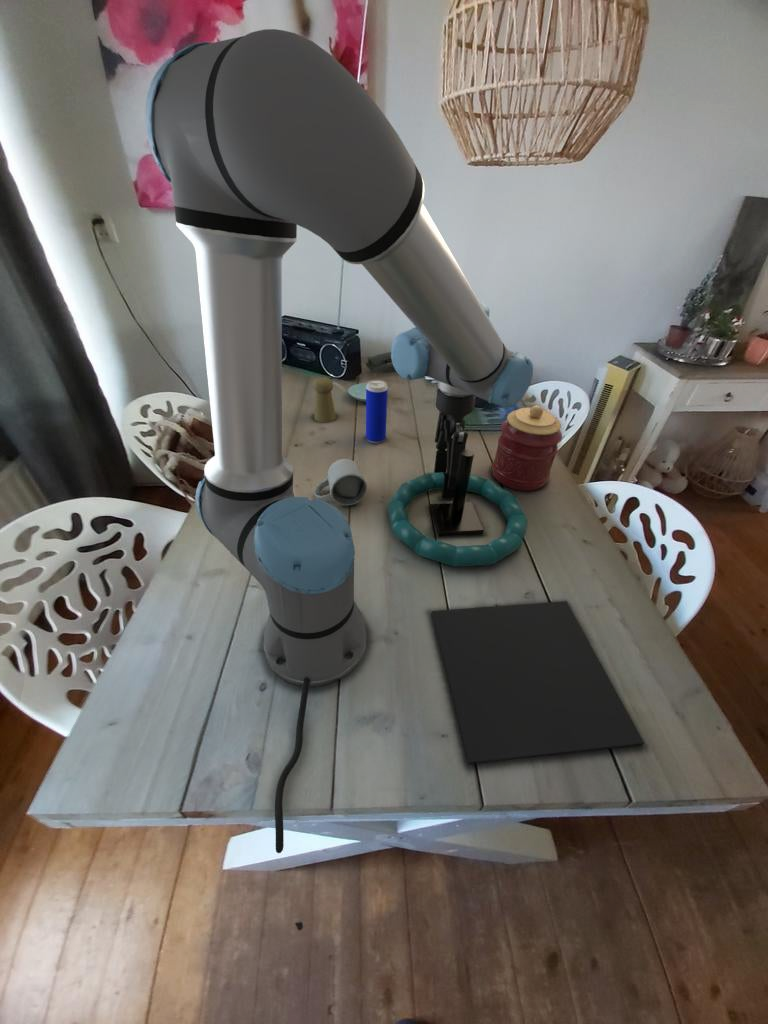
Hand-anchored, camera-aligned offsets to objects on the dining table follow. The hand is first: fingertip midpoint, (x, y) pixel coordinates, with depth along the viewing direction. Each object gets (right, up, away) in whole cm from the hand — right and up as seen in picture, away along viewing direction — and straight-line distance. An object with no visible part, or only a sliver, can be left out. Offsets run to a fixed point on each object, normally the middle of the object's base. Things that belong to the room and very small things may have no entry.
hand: (443, 486), depth 99 cm
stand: (+1, -8, -9) cm, 12 cm away
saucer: (-18, +29, +35) cm, 49 cm away
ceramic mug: (-23, -3, -4) cm, 23 cm away
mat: (+7, -29, -35) cm, 46 cm away
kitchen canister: (+18, +3, +5) cm, 19 cm away
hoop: (+1, -6, -10) cm, 12 cm away
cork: (-30, +21, +25) cm, 44 cm away
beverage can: (-16, +13, +16) cm, 26 cm away
